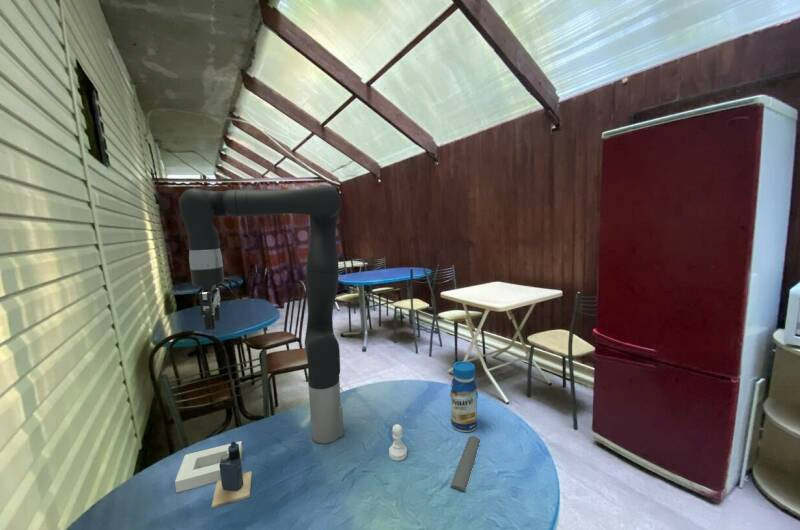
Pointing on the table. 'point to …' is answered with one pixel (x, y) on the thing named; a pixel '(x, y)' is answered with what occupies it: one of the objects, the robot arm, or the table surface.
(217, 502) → the tan rectangular block
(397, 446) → the chess pawn
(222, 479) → the vaping device
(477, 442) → the gray half cylinder
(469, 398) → the beverage bottle
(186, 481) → the white cutout frame
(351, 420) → the table surface
